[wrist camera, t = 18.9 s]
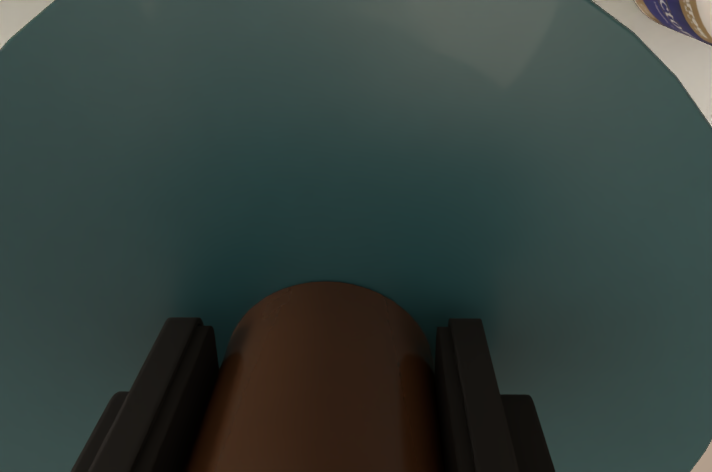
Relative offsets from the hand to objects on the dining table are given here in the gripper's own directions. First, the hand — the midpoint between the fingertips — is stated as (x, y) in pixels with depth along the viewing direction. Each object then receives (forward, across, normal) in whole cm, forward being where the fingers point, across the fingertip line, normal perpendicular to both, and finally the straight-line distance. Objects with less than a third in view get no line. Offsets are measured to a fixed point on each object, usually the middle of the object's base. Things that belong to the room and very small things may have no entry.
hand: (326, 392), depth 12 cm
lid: (+1, 0, 0) cm, 1 cm away
